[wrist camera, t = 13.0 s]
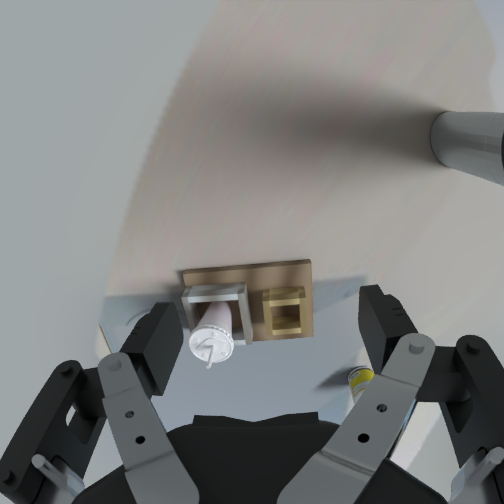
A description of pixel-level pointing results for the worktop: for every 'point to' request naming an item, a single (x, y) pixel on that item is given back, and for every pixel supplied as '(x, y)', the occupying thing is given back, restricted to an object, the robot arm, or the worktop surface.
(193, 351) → the smoothie
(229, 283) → the fitting board
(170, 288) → the worktop surface
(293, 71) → the worktop surface
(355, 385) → the supplement bottle
